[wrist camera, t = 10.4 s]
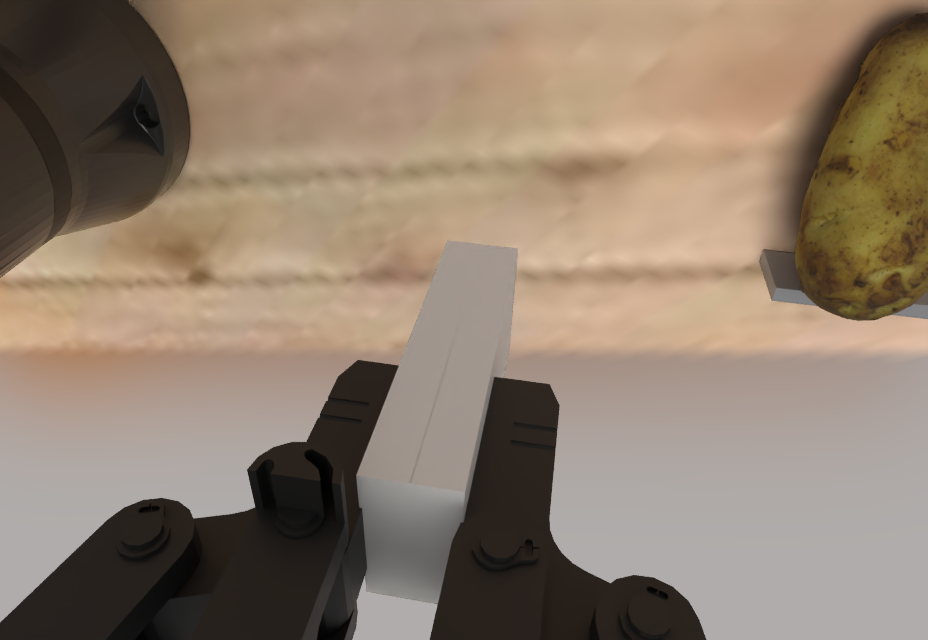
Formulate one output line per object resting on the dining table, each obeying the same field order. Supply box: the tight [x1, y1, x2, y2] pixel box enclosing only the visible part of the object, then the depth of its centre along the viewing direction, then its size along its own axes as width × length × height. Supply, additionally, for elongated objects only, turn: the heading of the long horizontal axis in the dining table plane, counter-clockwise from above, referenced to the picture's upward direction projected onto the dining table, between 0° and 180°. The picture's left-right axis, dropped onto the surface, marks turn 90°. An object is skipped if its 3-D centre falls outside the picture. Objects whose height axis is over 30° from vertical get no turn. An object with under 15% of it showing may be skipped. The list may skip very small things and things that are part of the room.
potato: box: [795, 13, 928, 321], centre depth 32 cm, size 8×13×8 cm, turn 157°
